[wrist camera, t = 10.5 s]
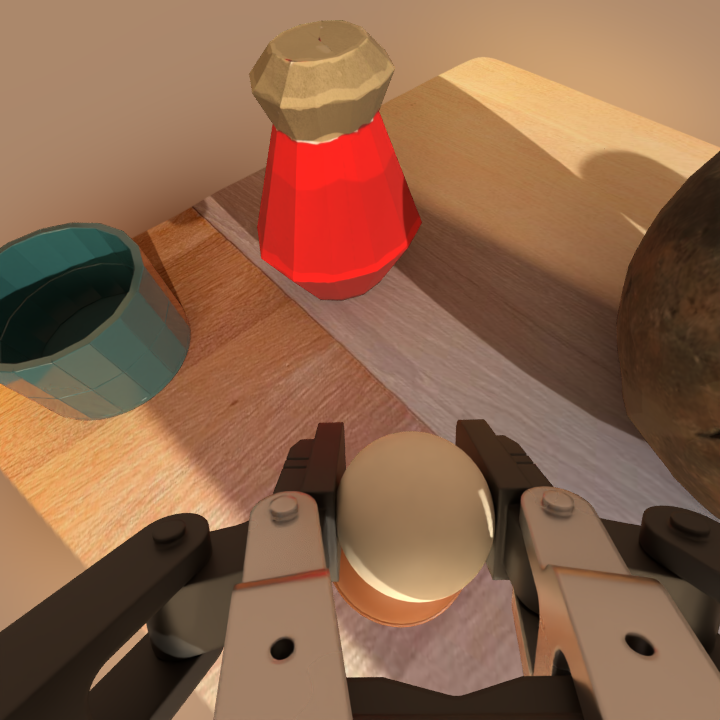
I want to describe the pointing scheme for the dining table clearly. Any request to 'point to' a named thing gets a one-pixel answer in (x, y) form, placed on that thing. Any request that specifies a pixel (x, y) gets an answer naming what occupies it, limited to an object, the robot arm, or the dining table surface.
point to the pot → (677, 336)
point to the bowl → (86, 322)
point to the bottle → (330, 161)
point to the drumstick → (411, 527)
